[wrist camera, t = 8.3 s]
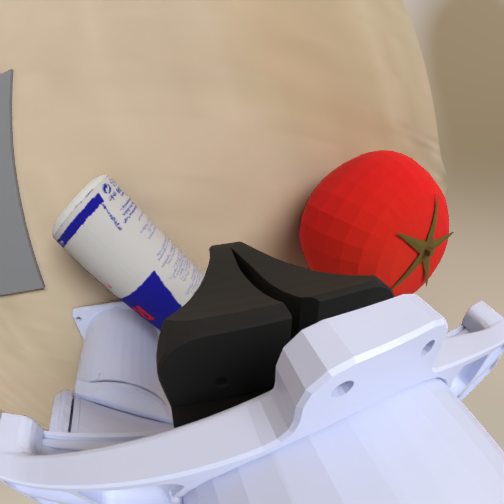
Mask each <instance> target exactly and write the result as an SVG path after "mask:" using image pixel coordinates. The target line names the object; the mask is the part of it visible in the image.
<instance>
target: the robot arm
mask: <svg viewBox="0 0 504 504" xmlns="http://www.w3.org/2000/svg"><path fill="white" fill-rule="evenodd" d="M209 250H210V261H209V265H208V268H207V271H206V273H205V276H204V278H203V280H202V282H201V284H200V286H199V287H198V289H197V290H196V292H195V293H194V295H193V296H192V297H191V299H190V300H189V301H188V302H187V303H186V304H185V305H184V306H182V307H181V308H180V309H179V310H177V311H176V312H174V313H173V314H172V315H170V316H169V317H167V318H166V319H164V321H163V324H162V327H161V331H160V330H159V329H157V328H156V327H155V326H153V325H152V324H151V323H149V322H148V321H147V320H145V319H144V318H143V317H141V316H140V315H139V314H138V313H136V312H135V311H134V310H133V309H131V308H130V307H129V306H128V305H126V304H125V303H124V302H123V301H118V302H112V303H105V304H99V305H92V306H85V307H79V308H74V309H73V311H72V315H73V318H74V320H75V322H76V324H77V327H78V329H79V331H80V333H81V336H82V338H83V340H84V342H83V346H82V351H81V355H80V359H79V364H78V369H77V374H76V379H75V384H74V390H73V393H72V392H71V391H69V390H67V389H63V391H62V392H59V393H57V394H55V398H54V403H53V408H52V413H51V419H50V425H49V431H45V430H43V429H42V428H41V427H40V426H39V424H38V423H37V422H36V421H34V420H33V419H32V418H30V417H28V416H24V415H18V414H11V413H2V416H1V420H0V481H2V482H3V483H5V484H6V485H8V486H9V487H11V488H13V489H14V490H16V491H18V492H19V493H21V494H23V495H25V496H26V497H28V498H30V499H32V500H34V501H36V502H38V503H40V504H504V452H503V451H502V449H501V448H500V447H499V446H498V444H497V443H496V442H495V441H494V439H493V438H492V437H491V436H490V435H489V433H488V432H487V431H486V430H485V429H484V427H483V426H482V425H481V424H480V423H479V421H478V420H477V419H476V418H475V417H474V416H473V414H472V413H471V412H470V411H469V410H468V409H467V407H466V406H465V405H464V404H463V403H462V402H461V401H462V399H464V398H465V397H466V396H467V395H468V394H469V393H470V392H471V391H472V390H473V389H474V388H475V387H476V386H477V385H478V384H479V383H480V381H482V379H484V377H486V376H487V374H488V373H489V372H490V371H491V370H492V369H493V368H494V366H495V365H496V363H497V361H498V360H499V358H500V357H501V355H502V354H503V352H504V318H503V317H502V316H501V315H499V314H498V313H497V312H496V311H494V310H493V309H492V308H491V307H489V306H488V305H487V304H486V303H484V302H483V301H479V302H478V303H476V304H475V305H473V306H472V307H470V308H469V309H468V311H467V312H466V314H465V316H464V318H463V321H462V324H461V325H459V326H458V327H456V328H455V329H453V330H452V331H450V332H448V325H447V322H446V320H445V318H444V317H442V316H441V315H440V314H439V313H438V312H437V311H436V310H434V309H433V308H432V307H431V306H430V305H428V304H427V303H426V302H425V301H424V300H422V299H421V298H420V297H419V296H417V295H416V294H402V295H399V296H397V297H394V294H393V291H392V289H391V288H390V287H388V286H387V285H386V284H385V283H384V282H383V281H381V280H380V279H379V278H378V277H377V276H375V275H342V274H332V273H325V272H319V271H314V270H309V269H305V268H301V267H298V266H295V265H291V264H288V263H285V262H283V261H280V260H278V259H275V258H273V257H271V256H269V255H266V254H264V253H262V252H260V251H258V250H256V249H254V248H252V247H250V246H248V245H246V244H244V243H242V242H234V243H228V244H221V245H214V246H211V247H210V249H209ZM78 317H80V318H81V319H79V318H78ZM447 332H448V333H447ZM170 406H171V408H170Z"/></svg>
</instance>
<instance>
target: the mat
mask: <svg viewBox="0 0 504 504" xmlns="http://www.w3.org/2000/svg"><path fill="white" fill-rule="evenodd" d="M12 80H13V70H12V69H11V70H8V71H6V72H4V73H2V74H0V295H6V294H12V293H18V292H23V291H29V290H35V289H41V288H44V287H45V285H44V282H43V279H42V276H41V274H40V271H39V268H38V265H37V262H36V258H35V255H34V252H33V249H32V245H31V242H30V238H29V234H28V230H27V227H26V222H25V218H24V214H23V209H22V204H21V199H20V194H19V188H18V182H17V175H16V168H15V160H14V150H13V137H12Z"/></svg>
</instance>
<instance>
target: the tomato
mask: <svg viewBox="0 0 504 504" xmlns="http://www.w3.org/2000/svg"><path fill="white" fill-rule="evenodd" d="M452 233H453V232H452ZM452 233H450V234H449V215H448V209H447V204H446V200H445V197H444V195H443V193H442V191H441V189H440V188H439V186H438V185H437V183H436V182H435V181H434V179H433V178H432V177H431V175H430V174H429V172H427V171H426V170H425V169H424V168H423V167H421V166H420V165H419V164H418V163H417V162H416V161H414V160H413V159H412V158H410V157H408V156H406V155H404V154H401V153H398V152H394V151H383V150H381V151H374V152H369V153H366V154H362V155H360V156H358V157H356V158H354V159H352V160H350V161H348V162H346V163H344V164H342V165H341V166H339V167H338V168H336V169H335V170H333V171H332V172H331V173H330V174H329V175H328V176H326V177H325V178H324V179H323V180H322V181H321V182H320V184H319V185H318V186H317V187H316V188H315V189H314V191H313V193H312V194H311V196H310V198H309V200H308V201H307V204H306V206H305V209H304V212H303V214H302V218H301V224H300V230H299V238H300V244H301V249H302V251H303V254H304V256H305V259H306V261H307V264H308V266H309V269H310V270H314V271H319V272H325V273H332V274H342V275H375V276H377V277H378V278H379V279H380V280H381V281H383V282H384V283H385V284H386V285H387V286H388V287H390V288H391V289H392V291H393V294H394V297H397V296H399V295H402V294H413V293H414V292H415V291H417V290H418V289H419V288H420V287H421V286H422V285H423V284H424V283H425V282H426V285H427V281H428V278H429V277H430V276H431V275H432V273H433V272H434V270H435V269H436V267H437V265H438V264H439V262H440V260H441V258H442V256H443V254H444V251H445V248H446V245H447V241H448V237H449V236H450V235H451V234H452Z"/></svg>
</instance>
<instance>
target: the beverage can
mask: <svg viewBox="0 0 504 504" xmlns="http://www.w3.org/2000/svg"><path fill="white" fill-rule="evenodd" d="M53 238H54V239H55V240H56V241H57V242H58V243H59V244H60V245H61V246H62V247H63V248H64V249H65V250H66V251H67V252H68V253H69V254H70V255H71V256H72V257H73V258H74V259H76V260H77V261H78V262H79V263H80V264H81V265H82V266H83V267H84V268H85V269H86V270H87V271H88V272H89V273H90V274H92V275H93V276H94V277H95V278H96V279H97V280H98V281H99V282H101V283H102V284H103V285H104V286H105V287H106V288H107V289H109V290H110V291H111V292H112V293H113V294H114V295H116V296H117V297H118V298H119V299H120V300H122V301H123V302H124V303H125V304H126V305H128V306H129V307H130V308H131V309H133V310H134V311H135V312H136V313H138V314H139V315H140V316H141V317H143V318H144V319H145V320H147V321H148V322H149V323H151V324H152V325H153V326H155V327H156V328H157V329H159V330H160V331H161V327H162V324H163V321H164V319H166V318H167V317H169V316H170V315H172V314H173V313H174V312H176V311H177V310H179V309H180V308H181V307H182V306H184V305H185V304H186V303H187V302H188V301H189V300H190V299H191V297H192V296H193V295H194V293H195V292H196V290H197V289H198V287H199V286H200V284H201V282H202V280H203V278H204V276H205V274H204V273H203V272H202V271H201V270H200V269H199V268H198V267H197V266H196V265H195V264H194V263H193V262H192V261H191V260H190V259H189V258H188V257H187V256H186V255H185V254H184V253H183V252H182V251H181V250H179V249H178V248H177V247H176V246H175V244H174V243H173V242H172V241H171V240H170V239H169V238H168V237H167V236H166V235H165V234H164V233H163V232H162V231H161V230H160V229H159V228H158V227H157V226H156V225H155V224H154V223H153V222H152V221H151V220H150V219H149V218H148V217H147V216H146V215H145V214H144V213H143V212H142V211H141V210H140V208H139V207H138V206H137V205H136V204H135V203H134V202H133V201H132V200H131V199H130V198H129V197H128V196H127V195H126V194H125V192H124V191H123V190H122V189H121V188H120V187H119V186H118V185H117V184H116V183H115V182H114V181H113V179H112V178H111V177H110V176H109V175H101V176H98V177H96V178H94V179H93V180H92V181H91V182H90V183H88V184H87V185H86V186H85V187H84V188H83V189H82V190H81V191H80V192H79V193H78V194H77V195H76V196H75V198H74V199H73V200H72V201H71V202H70V203H69V204H68V206H67V207H66V208H65V209H64V210H63V212H62V213H61V214H60V216H59V217H58V219H57V220H56V222H55V224H54V227H53Z"/></svg>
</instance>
